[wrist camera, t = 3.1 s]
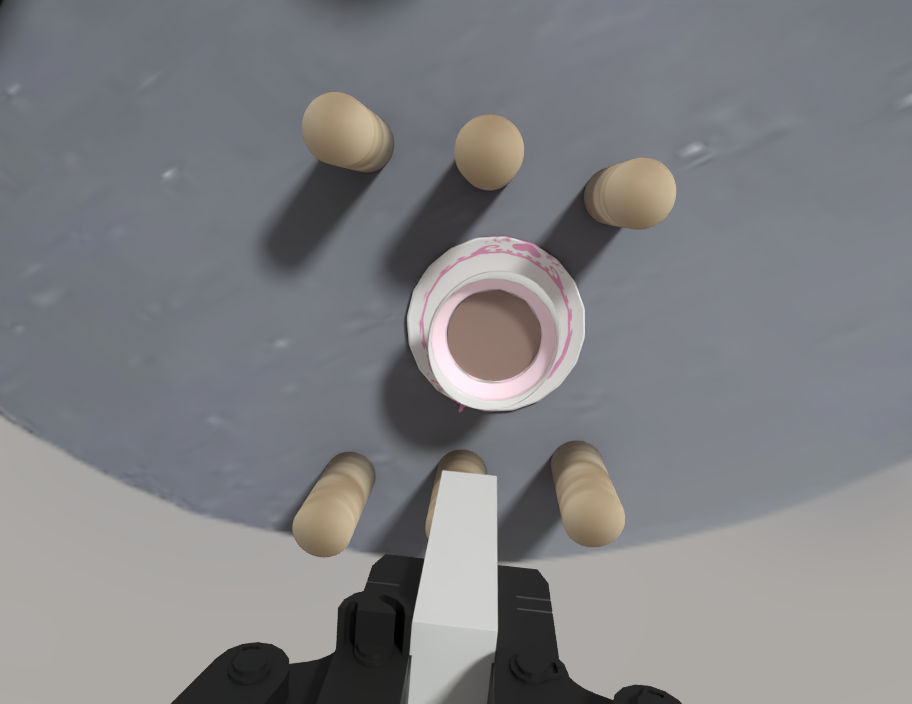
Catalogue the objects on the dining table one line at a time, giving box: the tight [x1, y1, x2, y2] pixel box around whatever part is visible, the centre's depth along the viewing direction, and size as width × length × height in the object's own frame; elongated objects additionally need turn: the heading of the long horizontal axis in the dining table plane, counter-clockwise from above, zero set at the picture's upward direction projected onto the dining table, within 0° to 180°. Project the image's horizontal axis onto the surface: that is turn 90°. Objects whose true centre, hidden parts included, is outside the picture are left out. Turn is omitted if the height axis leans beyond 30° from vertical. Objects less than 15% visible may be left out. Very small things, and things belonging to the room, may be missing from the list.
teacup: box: [407, 236, 585, 413], centre depth 40 cm, size 12×12×6 cm
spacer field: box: [292, 92, 676, 557], centre depth 39 cm, size 20×27×8 cm
